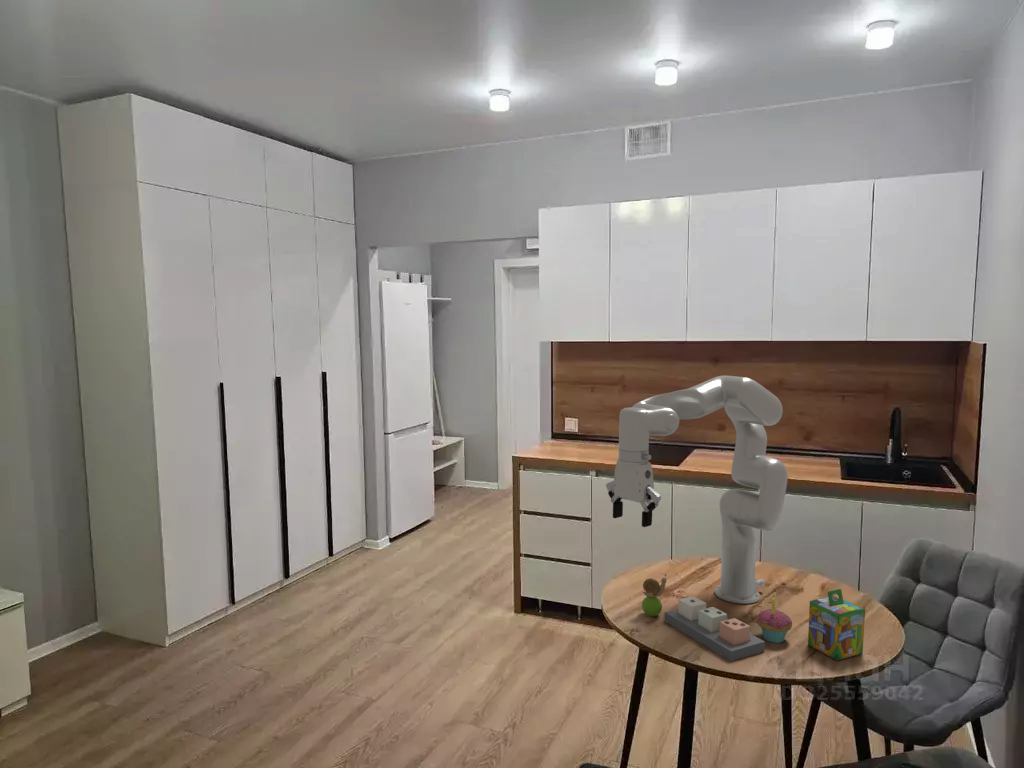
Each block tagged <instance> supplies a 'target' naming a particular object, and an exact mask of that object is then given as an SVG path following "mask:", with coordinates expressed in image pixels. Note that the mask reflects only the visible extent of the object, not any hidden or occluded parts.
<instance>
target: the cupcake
mask: <svg viewBox="0 0 1024 768" xmlns="http://www.w3.org/2000/svg"><path fill="white" fill-rule="evenodd" d="M775 599H776V598H775V595H772V598H771V609H770V608H769V609H765V610H761V611H760V612H759V613H757V614H756V620H755V621H756V623H757V624H758V626H759V627H760V628H761V632H762V635H763V638H764V640H766V641H768V642H770V643H777V644H778V643H780V644H781V643H783V642H784V640H785V637H786V635H787V634H788V632H789V631H790V630H792V627H793V621H792V618H791V617H790V616H789V615H787V614H786V613H784V612H783V611H781V610H778V609H775V608H776V607H775V606H776V605H775V604H776V600H775Z"/></svg>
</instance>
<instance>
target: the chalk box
mask: <svg viewBox="0 0 1024 768" xmlns="http://www.w3.org/2000/svg"><path fill="white" fill-rule="evenodd" d="M835 595H837V596H838V597H837V596H835ZM865 617H866V609H865V608H863V607H860V606H858V605H856V604H854V603H853V602H851V601H848V600H845V599H844V598H843V592H842V589H841V588H836V589H833V590H832V589H831V590H828V591H827V597H826V596H825V597H821V598H817V599H812V600H810V601H809V614H808V639H807V646H809V647H812V648H813V649H815V650H817V651H818V652H820V653H822V654H824V655H826V656H828V657H829V658H831V659H834V660H835V661H837V660H838V661H841V660H844V658H845V659H848V657H849V658H853V657H856V656H860V655H859V654H861V655H863V653H864V652H863V651H864V649H863V648H864V634H865ZM855 655H856V656H855ZM852 656H853V657H852Z"/></svg>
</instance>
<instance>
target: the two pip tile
mask: <svg viewBox="0 0 1024 768" xmlns="http://www.w3.org/2000/svg"><path fill="white" fill-rule="evenodd" d="M725 620H728V613H726V612H725V611H722V610H720V609H718V608H716V607H715V606H712V607H711V606H710V607H706V609H702V610H699V613H698V625H699V626H701V627H703V628H704V629H706V630H708V631H710V632H711V633H713V632H717V631H720V622H722V621H725Z"/></svg>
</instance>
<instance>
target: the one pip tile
mask: <svg viewBox="0 0 1024 768" xmlns="http://www.w3.org/2000/svg"><path fill="white" fill-rule="evenodd" d="M706 608H707V602H705V601H703V600H701V599H699V598H697V597H695V596H688V597H684V598H681V599H680V598H679V599H678V609H679V613H678V614H680V615H682V616H684V617H685V618H687V619H689V620H690V621H693V620H697V619H698V613H699V610H702V609H706Z"/></svg>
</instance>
